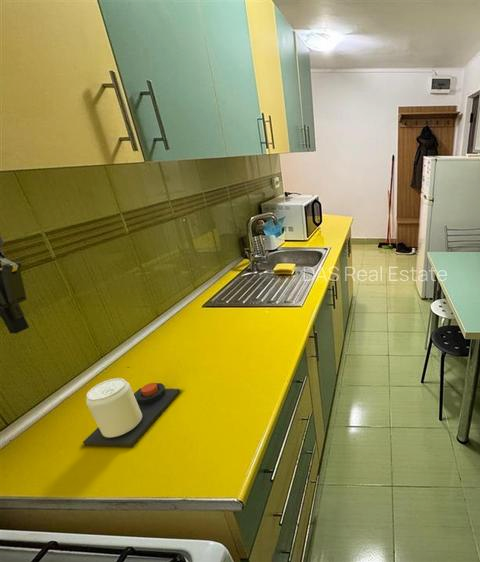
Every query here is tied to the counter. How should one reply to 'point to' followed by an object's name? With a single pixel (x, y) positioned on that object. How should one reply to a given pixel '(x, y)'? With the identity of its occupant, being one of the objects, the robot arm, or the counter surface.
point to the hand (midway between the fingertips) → (19, 330)
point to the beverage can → (114, 407)
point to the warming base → (150, 412)
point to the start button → (149, 389)
